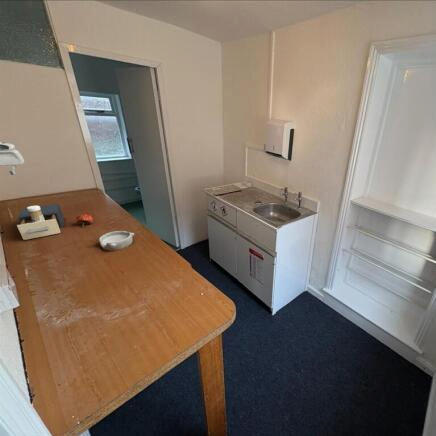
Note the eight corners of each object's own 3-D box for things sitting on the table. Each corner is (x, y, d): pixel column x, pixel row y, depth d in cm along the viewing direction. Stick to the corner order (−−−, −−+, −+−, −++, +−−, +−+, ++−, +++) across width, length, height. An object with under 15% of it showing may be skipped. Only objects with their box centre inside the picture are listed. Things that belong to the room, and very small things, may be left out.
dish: (117, 253, 110) (114, 244, 108) (93, 249, 112) (90, 240, 110) (141, 239, 123) (139, 231, 121) (119, 236, 125) (116, 228, 123)
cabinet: (63, 227, 131) (57, 211, 128) (25, 234, 122) (17, 217, 119) (64, 218, 142) (58, 203, 139) (29, 224, 133) (22, 208, 130)
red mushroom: (93, 229, 135) (98, 215, 140) (82, 224, 129) (89, 208, 133) (80, 230, 135) (86, 216, 140) (69, 225, 129) (76, 209, 133)
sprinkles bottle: (34, 232, 121) (23, 208, 116) (41, 228, 125) (31, 205, 120) (44, 231, 122) (34, 208, 117) (51, 228, 126) (41, 205, 121)
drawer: (60, 236, 121) (54, 222, 118) (22, 243, 113) (15, 229, 109) (61, 223, 134) (56, 211, 131) (27, 229, 126) (21, 216, 123)
